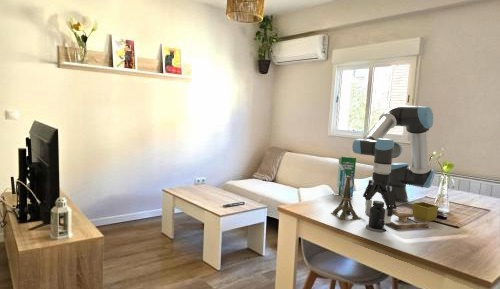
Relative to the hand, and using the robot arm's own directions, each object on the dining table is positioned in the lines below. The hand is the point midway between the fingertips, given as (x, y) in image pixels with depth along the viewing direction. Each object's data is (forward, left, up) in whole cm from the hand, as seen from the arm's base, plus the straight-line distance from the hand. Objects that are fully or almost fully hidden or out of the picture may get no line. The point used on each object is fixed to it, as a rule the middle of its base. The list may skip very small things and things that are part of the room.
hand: (377, 218), depth 150 cm
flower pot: (-32, -5, -5) cm, 33 cm away
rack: (-15, -5, -5) cm, 17 cm away
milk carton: (-22, -61, -5) cm, 65 cm away
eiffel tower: (+5, -18, -5) cm, 19 cm away
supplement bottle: (0, 0, -5) cm, 5 cm away
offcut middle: (-19, -5, -4) cm, 20 cm away
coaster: (0, 0, -5) cm, 5 cm away
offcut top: (-20, -5, -2) cm, 20 cm away
